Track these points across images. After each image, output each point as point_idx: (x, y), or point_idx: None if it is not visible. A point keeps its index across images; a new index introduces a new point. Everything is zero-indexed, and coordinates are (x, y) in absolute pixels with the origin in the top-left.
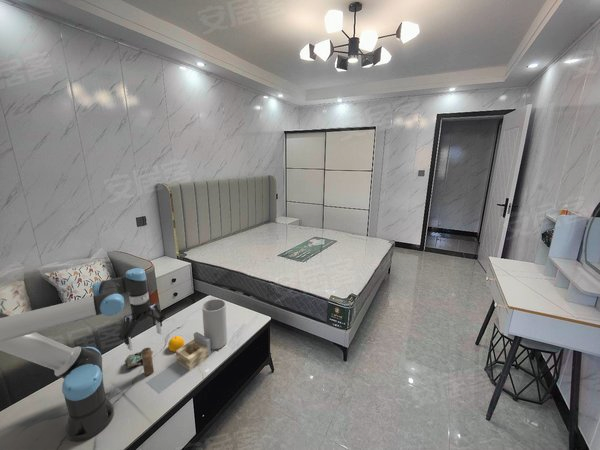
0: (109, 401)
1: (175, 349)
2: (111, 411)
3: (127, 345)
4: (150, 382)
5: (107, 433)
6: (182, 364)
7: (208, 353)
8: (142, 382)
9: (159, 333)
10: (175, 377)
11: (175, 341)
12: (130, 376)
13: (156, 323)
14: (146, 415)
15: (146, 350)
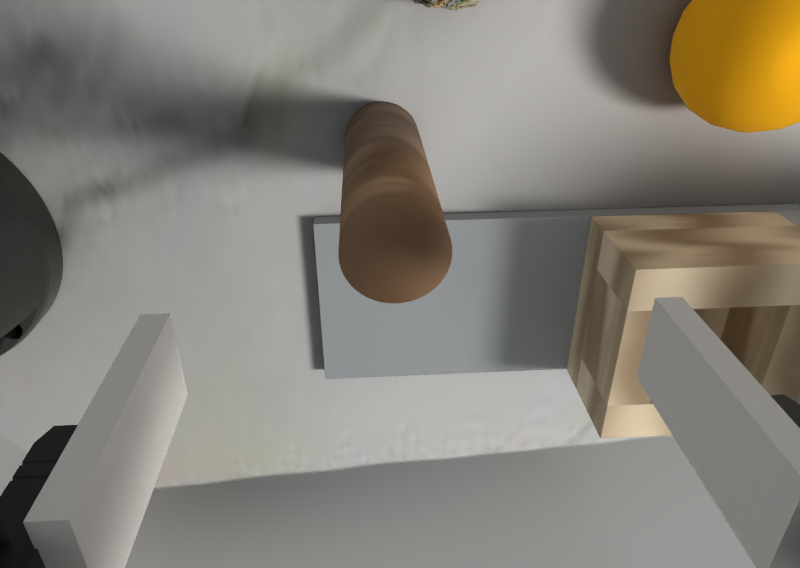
0: (8, 284)
1: (691, 110)
2: (26, 323)
3: (121, 351)
4: (335, 253)
5: (6, 379)
6: (582, 294)
7: None
8: (302, 178)
9: (644, 374)
10: (470, 347)
11: (763, 104)
12: (260, 17)
13: (764, 463)
14: (211, 429)
15: (399, 259)
